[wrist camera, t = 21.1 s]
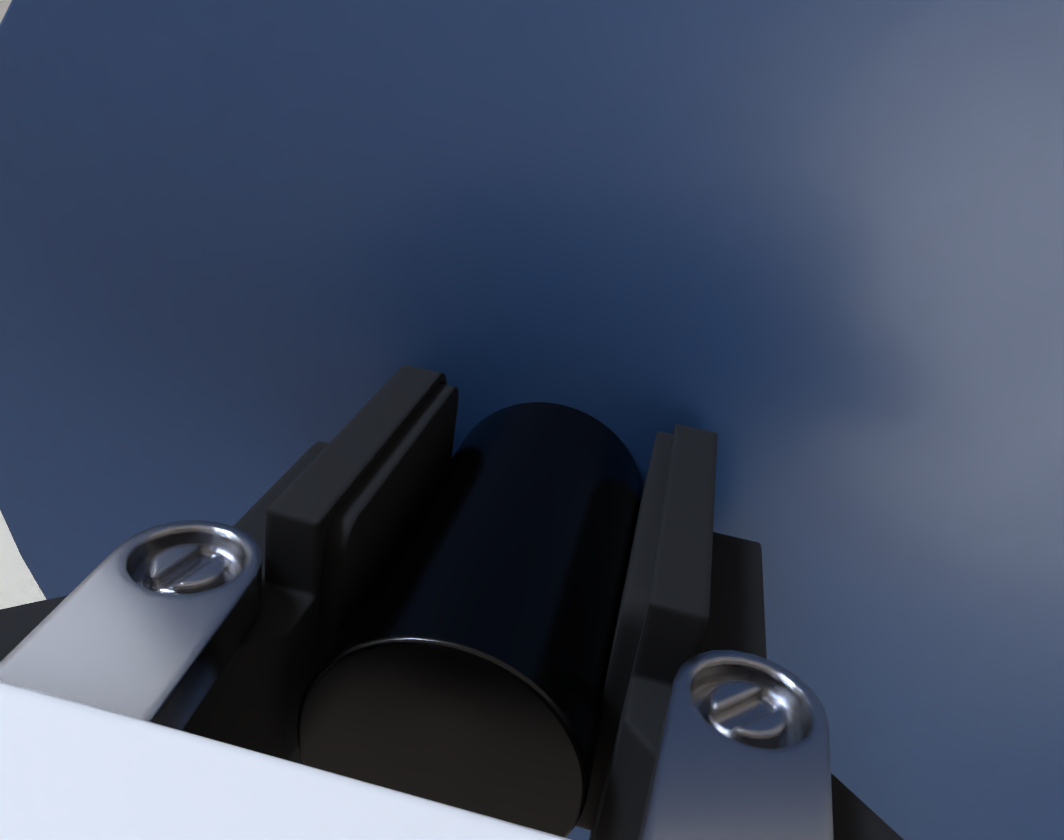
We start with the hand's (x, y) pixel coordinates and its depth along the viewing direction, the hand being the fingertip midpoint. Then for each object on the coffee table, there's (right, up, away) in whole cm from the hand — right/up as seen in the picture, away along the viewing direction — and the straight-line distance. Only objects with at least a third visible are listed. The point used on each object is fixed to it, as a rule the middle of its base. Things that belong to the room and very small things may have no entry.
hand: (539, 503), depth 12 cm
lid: (0, 0, +1) cm, 1 cm away
